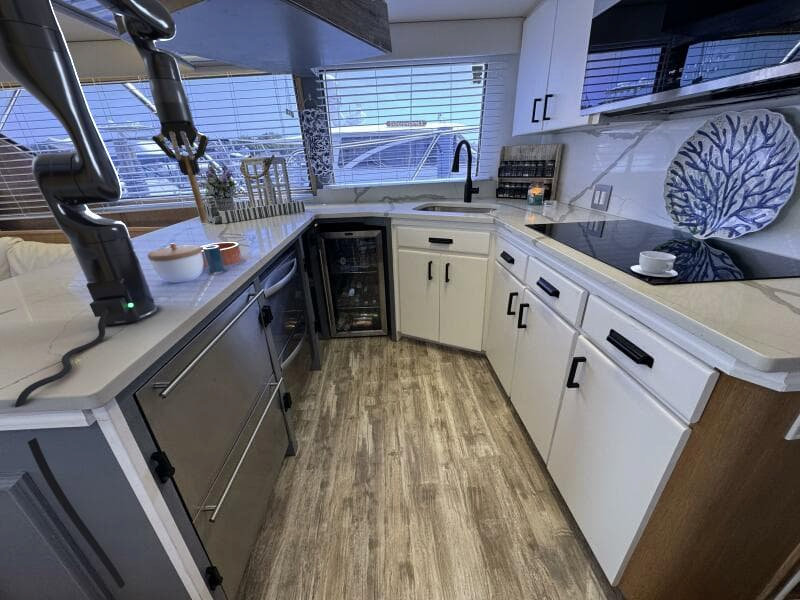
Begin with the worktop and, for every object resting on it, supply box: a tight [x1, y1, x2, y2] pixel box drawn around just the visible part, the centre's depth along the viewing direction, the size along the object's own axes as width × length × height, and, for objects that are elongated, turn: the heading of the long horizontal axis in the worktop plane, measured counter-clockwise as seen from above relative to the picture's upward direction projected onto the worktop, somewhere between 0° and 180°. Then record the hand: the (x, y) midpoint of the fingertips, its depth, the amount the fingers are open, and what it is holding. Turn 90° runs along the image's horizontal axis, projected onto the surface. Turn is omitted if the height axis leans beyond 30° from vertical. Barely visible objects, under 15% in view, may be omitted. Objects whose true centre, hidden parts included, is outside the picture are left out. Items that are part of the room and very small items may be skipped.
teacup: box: [630, 251, 679, 278], centre depth 83 cm, size 10×10×5 cm
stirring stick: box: [183, 154, 209, 224], centre depth 91 cm, size 2×2×18 cm
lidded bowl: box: [147, 242, 205, 284], centre depth 91 cm, size 13×13×11 cm
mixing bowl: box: [200, 241, 243, 268], centre depth 107 cm, size 12×12×6 cm
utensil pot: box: [203, 245, 226, 273], centre depth 98 cm, size 4×4×8 cm
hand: (191, 174), depth 89 cm, fingers closed on stirring stick, 2 cm apart
